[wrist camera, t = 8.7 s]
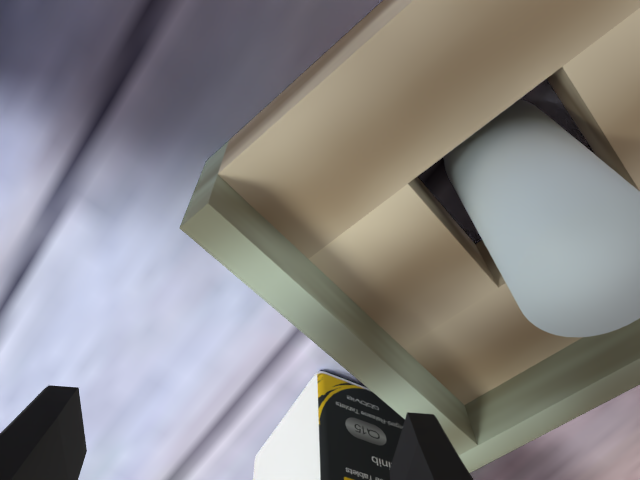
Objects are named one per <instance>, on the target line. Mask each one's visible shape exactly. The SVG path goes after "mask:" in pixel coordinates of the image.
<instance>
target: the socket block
mask: <svg viewBox="0 0 640 480" xmlns="http://www.w3.org/2000/svg"><path fill="white" fill-rule="evenodd" d="M545 79H547V80H548V82H549V83H550V85H551V86H552V88H553V89H554V91H555V93H556V94H557V96H558V97H559V99H560V100H561V102H562V103H563V105H564V107H565V108H566V110H567V111H568V113H569V114H570V116H571V117H572V119H573V120H574V122H575V124H576V125H577V127H578V128H579V130H580V131H581V133H582V134H583V136H584V137H585V139H586V141H587V142H588V144H589V145H590V147H591V148H592V150H593V151H594V153H595V154H596V156H597V157H598V158H600V159H601V160H602V161H603V162H605V163H606V164H607V165H608V166H609V167H611V168H612V169H613V170H614V171H615V172H617V173H618V174H619V175H620V176H621V177H623V178H624V179H625V180H626V181H628V182H629V183H630V184H631V185H632V186H634V187H635V188H636V189H637V190H638V191H640V0H383V1H382V2H381V3H380V4H378V5H377V6H376V7H375V8H374V9H373V10H372V11H371V12H370V13H369V14H367V15H366V16H365V17H364V18H363V19H362V20H361V21H360V22H359V23H358V24H356V25H355V26H354V27H353V28H352V29H351V30H350V31H349V32H348V33H347V34H345V35H344V36H343V37H342V38H341V39H340V40H339V41H338V42H337V43H336V44H334V45H333V46H332V47H331V48H330V49H329V50H328V51H327V52H326V53H325V54H323V55H322V56H321V57H320V58H319V59H318V60H317V61H316V62H315V63H314V64H312V65H311V66H310V67H309V68H308V69H307V70H306V71H305V72H304V73H303V74H301V75H300V76H299V77H298V78H297V79H296V80H295V81H294V82H293V83H292V84H290V85H289V86H288V87H287V88H286V89H285V90H284V91H283V92H282V93H281V94H279V95H278V96H277V97H276V98H275V99H274V100H273V101H272V102H271V103H270V104H268V105H267V106H266V107H265V108H264V109H263V110H262V111H261V112H260V113H259V114H257V115H256V116H255V117H254V118H253V119H252V120H251V121H250V122H249V123H248V124H246V125H245V126H244V127H243V128H242V129H241V130H240V131H239V132H238V133H237V134H235V135H234V136H233V137H232V138H231V139H230V140H229V141H228V142H227V143H226V144H224V145H223V146H222V147H221V148H220V149H219V150H218V151H217V152H216V153H215V154H213V155H212V156H211V157H210V158H209V159H208V160H207V161H206V163H205V165H204V168H203V170H202V173H201V175H200V178H199V180H198V183H197V185H196V188H195V190H194V193H193V195H192V198H191V200H190V203H189V205H188V208H187V210H186V213H185V215H184V218H183V220H182V223H181V225H180V229H181V230H182V231H183V232H185V233H186V234H187V235H188V236H189V237H190V238H192V239H193V240H194V241H195V242H196V243H198V244H199V245H200V246H201V247H202V248H203V249H205V250H206V251H207V252H208V253H209V254H210V255H212V256H213V257H214V258H215V259H216V260H218V261H219V262H220V263H221V264H222V265H223V266H225V267H226V268H227V269H228V270H229V271H231V272H232V273H233V274H234V275H235V276H236V277H238V278H239V279H240V280H241V281H242V282H243V283H245V284H246V285H247V286H248V287H249V288H251V289H252V290H253V291H254V292H255V293H256V294H258V295H259V296H260V297H261V298H262V299H264V300H265V301H266V302H267V303H268V304H269V305H271V306H272V307H273V308H274V309H275V310H276V311H278V312H279V313H280V314H281V315H282V316H284V317H285V318H286V319H287V320H288V321H289V322H291V323H292V324H293V325H294V326H295V327H297V328H298V329H299V330H300V331H301V332H302V333H304V334H305V335H306V336H307V337H308V338H310V339H311V340H312V341H313V342H314V343H315V344H317V345H318V346H319V347H320V348H321V349H322V350H324V351H325V352H326V353H327V354H328V355H330V356H331V357H332V358H333V359H334V360H335V361H337V362H338V363H339V364H340V365H341V366H343V367H344V368H345V369H346V370H347V371H348V372H350V373H351V374H352V375H353V376H354V377H355V378H357V379H358V380H359V381H360V382H361V383H363V384H364V385H365V386H366V387H367V388H368V389H370V390H371V391H372V392H373V393H374V394H376V395H377V396H378V397H379V398H380V399H381V400H383V401H384V402H385V403H386V404H387V405H388V406H390V407H391V408H392V409H393V410H394V411H396V412H397V413H398V414H399V415H400V416H401V417H403V418H404V419H405V418H406V415H407V412H410V413H423V414H434V415H435V417H436V418H437V419H438V421H439V423H440V424H441V426H442V428H443V430H444V431H445V433H446V435H447V437H448V438H449V440H450V442H451V444H452V445H453V447H454V449H455V450H456V452H457V454H458V455H459V457H460V459H461V460H462V462H463V464H464V465H465V467H466V469H467V470H468V472H469V473H471V472H473V471H475V470H477V469H478V468H480V467H482V466H484V465H486V464H488V463H490V462H492V461H494V460H496V459H498V458H500V457H501V456H503V455H505V454H507V453H509V452H511V451H513V450H515V449H517V448H519V447H521V446H523V445H524V444H526V443H528V442H530V441H532V440H534V439H536V438H538V437H540V436H542V435H544V434H546V433H547V432H549V431H551V430H553V429H555V428H557V427H559V426H561V425H563V424H565V423H567V422H569V421H570V420H572V419H574V418H576V417H578V416H580V415H582V414H584V413H586V412H588V411H590V410H592V409H594V408H595V407H597V406H599V405H601V404H603V403H605V402H607V401H609V400H611V399H613V398H615V397H617V396H618V395H620V394H622V393H624V392H626V391H628V390H630V389H632V388H634V387H636V386H638V385H640V318H639V319H638V320H636V321H634V322H632V323H631V324H629V325H627V326H624V327H622V328H620V329H617V330H614V331H612V332H609V333H605V334H601V335H596V336H590V337H564V336H558V335H554V334H551V333H548V332H546V331H543V330H541V329H539V328H538V327H536V326H535V325H533V324H532V323H531V322H530V321H529V320H528V319H527V318H526V317H525V316H524V315H523V313H522V311H521V310H520V308H519V306H518V304H517V302H516V301H515V299H514V297H513V295H512V293H511V291H510V290H509V288H508V286H507V284H506V282H505V280H504V279H503V277H502V275H501V273H500V271H499V269H498V268H497V266H496V264H495V262H494V260H493V258H492V257H491V255H490V253H489V251H488V249H487V247H486V246H485V244H484V242H483V240H481V241H480V242H478V243H477V244H475V243H474V242H473V241H472V240H471V239H470V238H469V236H468V235H467V234H466V233H465V232H464V231H463V229H462V228H461V227H460V226H459V225H458V224H457V222H456V221H455V220H454V219H453V218H452V216H451V215H450V214H449V213H448V212H447V211H446V209H445V208H444V207H443V206H442V205H441V204H440V202H439V201H438V200H437V199H436V198H435V197H434V195H433V194H432V193H431V192H430V191H429V190H428V188H427V187H426V186H425V185H424V184H423V183H422V181H421V180H420V179H419V178H418V177H417V176H419V175H420V174H421V173H423V172H424V171H425V170H427V169H428V168H429V167H430V166H432V165H433V164H434V163H436V162H437V161H438V160H440V159H441V158H442V157H444V156H445V155H446V154H448V153H449V152H450V151H452V150H453V149H454V148H456V147H457V146H458V145H460V144H461V143H462V142H463V141H465V140H466V139H467V138H469V137H470V136H471V135H473V134H474V133H475V132H477V131H478V130H479V129H481V128H482V127H483V126H485V125H486V124H487V123H489V122H490V121H491V120H493V119H494V118H495V117H496V116H498V115H499V114H500V113H502V112H503V111H504V110H506V109H507V108H508V107H510V106H511V105H512V104H514V103H515V102H516V101H518V100H519V99H520V98H522V97H523V96H524V95H525V94H527V93H528V92H529V91H531V90H532V89H533V88H535V87H536V86H537V85H539V84H540V83H541V82H543V81H544V80H545Z"/></svg>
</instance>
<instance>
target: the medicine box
mask: <svg viewBox="0 0 640 480" xmlns="http://www.w3.org/2000/svg"><path fill="white" fill-rule="evenodd" d="M404 421H405V419H404V418H403V417H401V416H400V415H399V414H398V413H397V412H396V411H394V410H393V409H392V408H391V407H390V406H388V405H387V404H386V403H385V402H384V401H383V400H381V399H380V398H379V397H378V396H377V395H376V394H374V393H373V392H372V391H371V390H370V389H368V388H366V387H364V386H361V385H358V384H356V383H353V382H351V381H348V380H345V379H343V378H340V377H338V376H335V375H332V374H330V373H327V372H324V371H319V372H317V373H315V375H314V376H313V377H312V379H311V380H310V381H309V383H308V384H307V386H306V387H305V388H304V390H303V391H302V392H301V394H300V395H299V397H298V398H297V399H296V401H295V402H294V403H293V405H292V406H291V408H290V409H289V410H288V412H287V413H286V414H285V416H284V417H283V419H282V420H281V421H280V423H279V424H278V425H277V427H276V428H275V430H274V431H273V432H272V434H271V435H270V436H269V438H268V439H267V441H266V442H265V443H264V445H263V446H262V447H261V449H260V450H259V452H258V453H257V454H256V457H255V463H254V474H253V480H390V472H389V471H390V467H391V464H392V461H393V457H394V454H395V451H396V448H397V444H398V441H399V438H400V435H401V431H402V428H403V425H404Z"/></svg>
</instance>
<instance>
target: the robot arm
mask: <svg viewBox="0 0 640 480" xmlns="http://www.w3.org/2000/svg"><path fill="white" fill-rule="evenodd" d="M86 452H87V450H86V442H85V434H84V427H83V419H82V411H81V404H80V396H79V389H78V388H76V387H63V386H48V387H46V388H45V389H44V390H43V391H42V392H41V393H40V394H39V395H38V396H37V397H36V398H35V399H34V400H33V401H32V402H31V403H30V404H29V405H28V406H27V407H26V408H25V409H24V410H23V411H22V412H21V413H20V414H19V415H18V416H17V417H16V418H15V419H14V420H13V421H12V422H11V423H10V424H9V425H8V426H7V427H6V428H5V429H4V430H3V431H2V432H1V433H0V480H78V478H79V474H80V471H81V468H82V465H83V461H84V458H85V455H86ZM389 472H390V480H473V478H472V477H471V475H470V473H469V472H468V470H467V469H466V467H465V465H464V464H463V462H462V460H461V459H460V457H459V455H458V454H457V452H456V450H455V449H454V447H453V445H452V444H451V442H450V440H449V438H448V437H447V435H446V433H445V431H444V430H443V428H442V426H441V424H440V423H439V421H438V419H437V418H436V417H435V415H434V414H423V413H410V412H407V415H406V418H405V421H404V425H403V428H402V431H401V435H400V438H399V441H398V444H397V448H396V451H395V454H394V457H393V461H392V464H391V467H390V471H389Z"/></svg>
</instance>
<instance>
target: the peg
mask: <svg viewBox="0 0 640 480" xmlns="http://www.w3.org/2000/svg"><path fill="white" fill-rule="evenodd" d="M443 158H444V167H445V171H446V173H447V176H448V178H449V180H450V181H451V183H452V185H453V187H454V189H455V191H456V192H457V194H458V196H459V198H460V200H461V202H462V203H463V205H464V207H465V209H466V211H467V213H468V214H469V216H470V218H471V220H472V222H473V224H474V225H475V227H476V229H477V231H478V233H479V235H480V236H481V238H482V240H483V242H484V244H485V246H486V247H487V249H488V251H489V253H490V255H491V257H492V258H493V260H494V262H495V264H496V266H497V268H498V269H499V271H500V273H501V275H502V277H503V279H504V280H505V282H506V284H507V286H508V288H509V290H510V291H511V293H512V295H513V297H514V299H515V301H516V302H517V304H518V306H519V308H520V310H521V311H522V313H523V315H524V316H525V317H526V318H527V319H528V320H529V321H530V322H531V323H532V324H533V325H535V326H536V327H538V328H539V329H541V330H543V331H546V332H548V333H551V334H554V335H558V336H564V337H590V336H596V335H601V334H605V333H609V332H612V331H614V330H617V329H620V328H622V327H624V326H627V325H629V324H631V323H632V322H634V321H636V320H638V319H639V318H640V191H638V190H637V189H636V188H635V187H634V186H632V185H631V184H630V183H629V182H628V181H626V180H625V179H624V178H623V177H621V176H620V175H619V174H618V173H617V172H615V171H614V170H613V169H612V168H611V167H609V166H608V165H607V164H606V163H605V162H603V161H602V160H601V159H600V158H598V157H597V156H596V155H595V154H594V153H592V152H591V151H590V150H589V149H588V148H586V147H585V146H584V145H583V144H581V143H580V142H579V141H578V140H577V139H575V138H574V137H573V136H572V135H571V134H569V133H568V132H567V131H566V130H565V129H563V128H562V127H561V126H560V125H558V124H557V123H556V122H555V121H554V120H552V119H551V118H550V117H549V116H548V115H546V114H545V113H544V112H543V111H541V110H540V109H539V108H538V107H536V106H535V105H534V104H532V103H530V102H528V101H525V100H522V99H519V100H518V101H516V102H515V103H514V104H512V105H511V106H510V107H508V108H507V109H506V110H504V111H503V112H502V113H500V114H499V115H498V116H496V117H495V118H494V119H493V120H491V121H490V122H489V123H487V124H486V125H485V126H483V127H482V128H481V129H479V130H478V131H477V132H475V133H474V134H473V135H471V136H470V137H469V138H467V139H466V140H465V141H463V142H462V143H461V144H460V145H458V146H457V147H456V148H454V149H453V150H452V151H450V152H449V153H448V154H446V155H445V156H444V157H443Z"/></svg>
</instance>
